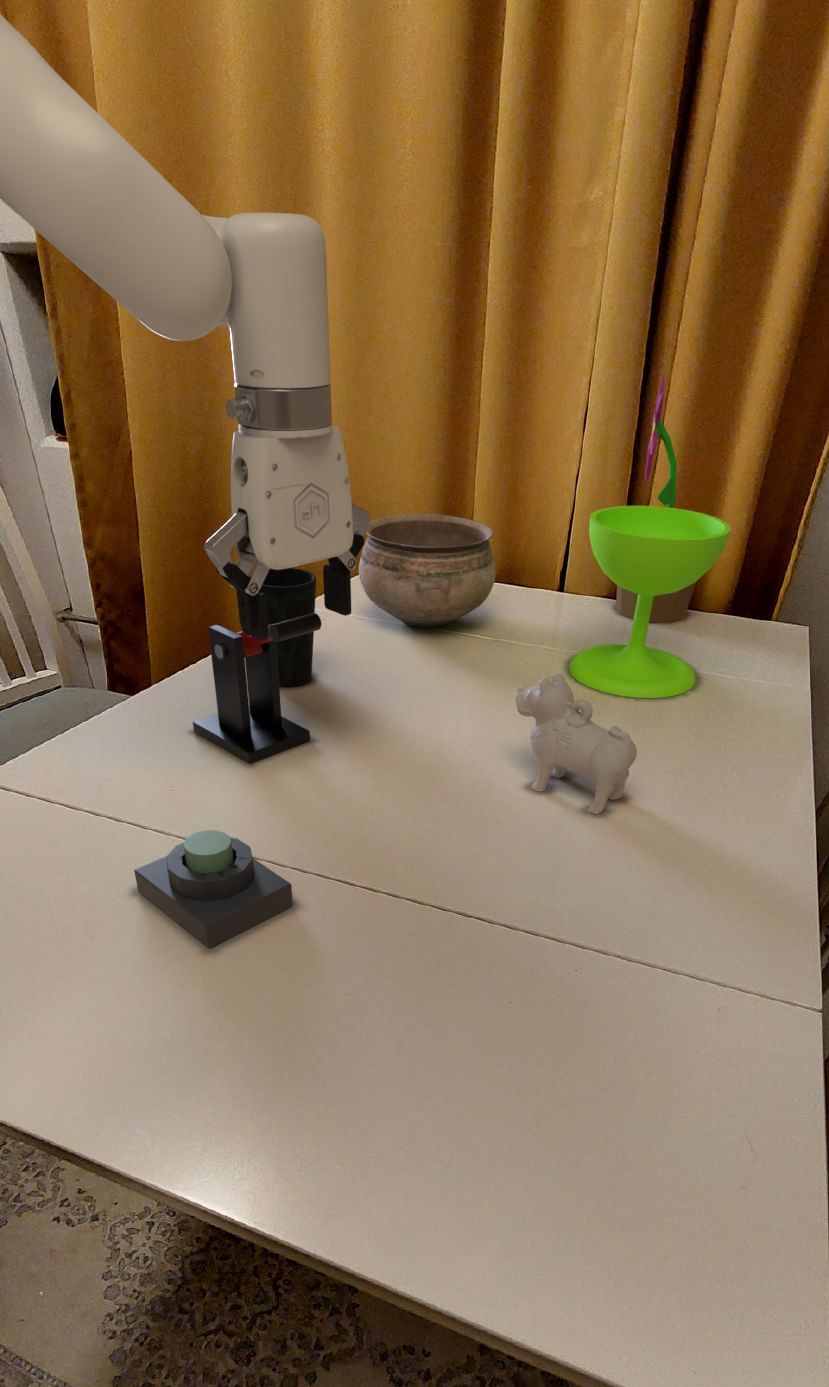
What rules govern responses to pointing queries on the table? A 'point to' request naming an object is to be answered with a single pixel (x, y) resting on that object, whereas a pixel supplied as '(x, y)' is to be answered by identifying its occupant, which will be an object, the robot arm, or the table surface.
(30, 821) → the table surface
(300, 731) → the black lever stand
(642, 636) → the wineglass
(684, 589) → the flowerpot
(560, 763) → the dog figurine
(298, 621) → the lever handle
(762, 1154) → the table surface
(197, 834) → the power button
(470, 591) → the cooking pot
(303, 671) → the cup
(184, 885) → the base
